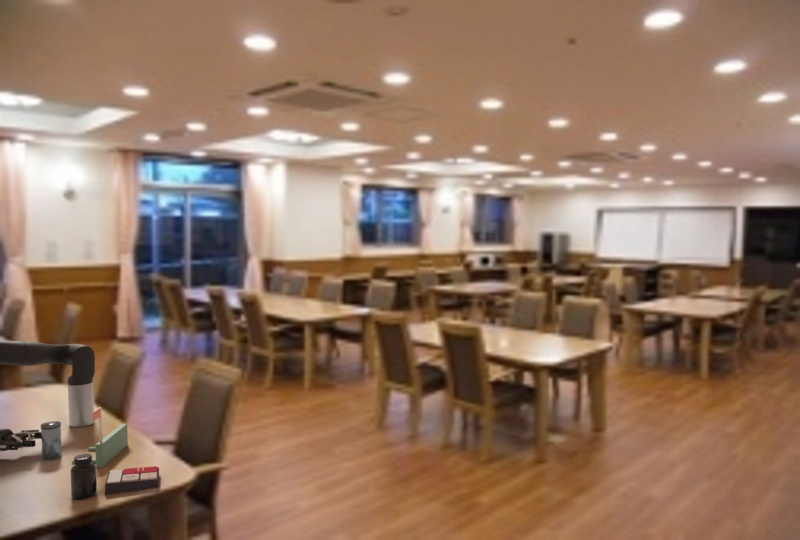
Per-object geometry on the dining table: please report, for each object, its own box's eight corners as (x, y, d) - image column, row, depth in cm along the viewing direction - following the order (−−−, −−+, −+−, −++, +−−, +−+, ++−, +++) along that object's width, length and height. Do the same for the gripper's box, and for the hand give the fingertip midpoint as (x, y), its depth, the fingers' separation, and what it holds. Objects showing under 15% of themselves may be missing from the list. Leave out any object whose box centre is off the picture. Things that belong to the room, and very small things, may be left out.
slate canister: (47, 454, 218) (46, 421, 218) (65, 453, 219) (64, 420, 218) (38, 460, 212) (36, 426, 211) (56, 460, 213) (55, 426, 212)
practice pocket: (94, 445, 227) (93, 392, 226) (127, 444, 228) (126, 392, 226) (61, 471, 202) (59, 412, 201) (98, 471, 203) (96, 411, 201)
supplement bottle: (90, 488, 189) (89, 450, 188) (101, 494, 184) (99, 455, 184) (67, 496, 183) (66, 457, 183) (77, 502, 179) (76, 462, 178)
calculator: (158, 477, 189) (104, 481, 184) (157, 490, 189) (104, 495, 184) (159, 464, 199) (108, 468, 194) (158, 477, 200) (108, 481, 195)
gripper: (-20, 436, 207) (30, 435, 208) (5, 423, 221) (51, 422, 222) (-19, 458, 207) (30, 457, 208) (6, 443, 221) (52, 442, 222)
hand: (41, 439), depth 215 cm, fingers open, 8 cm apart
